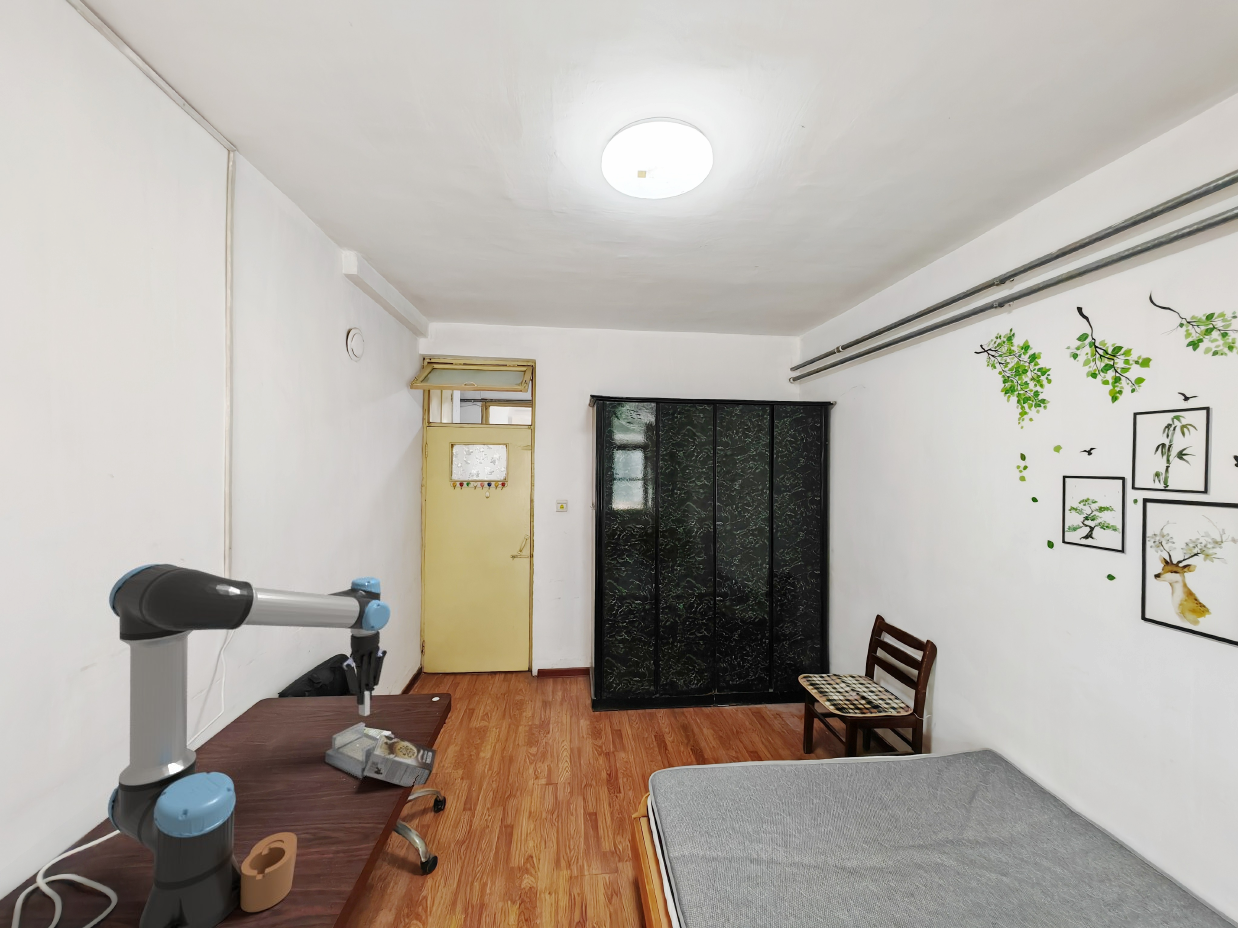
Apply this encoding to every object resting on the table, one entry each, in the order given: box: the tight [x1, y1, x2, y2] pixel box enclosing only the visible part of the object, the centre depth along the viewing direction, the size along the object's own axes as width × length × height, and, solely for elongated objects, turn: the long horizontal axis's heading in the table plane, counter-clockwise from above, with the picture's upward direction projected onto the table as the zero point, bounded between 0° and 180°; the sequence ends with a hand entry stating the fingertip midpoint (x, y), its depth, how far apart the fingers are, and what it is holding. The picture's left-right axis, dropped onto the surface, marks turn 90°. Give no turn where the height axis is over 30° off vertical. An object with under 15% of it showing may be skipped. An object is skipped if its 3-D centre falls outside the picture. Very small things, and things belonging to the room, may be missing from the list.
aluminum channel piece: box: [325, 721, 395, 779], centre depth 144 cm, size 12×16×7 cm
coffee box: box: [363, 733, 437, 787], centre depth 136 cm, size 9×6×16 cm
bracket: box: [239, 831, 298, 913], centre depth 103 cm, size 18×8×7 cm, turn 28°
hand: (364, 713), depth 144 cm, fingers closed
